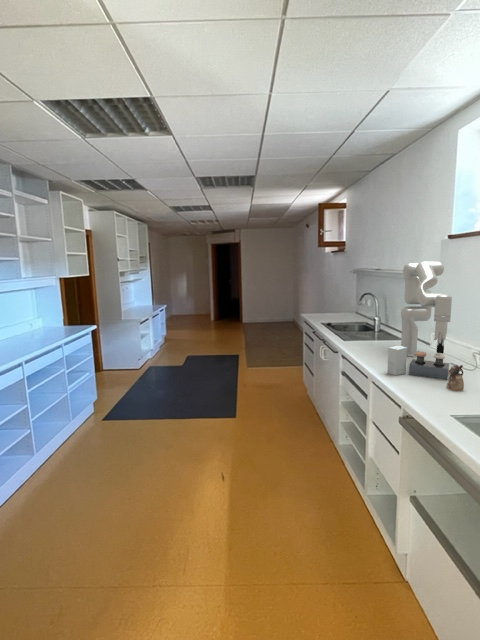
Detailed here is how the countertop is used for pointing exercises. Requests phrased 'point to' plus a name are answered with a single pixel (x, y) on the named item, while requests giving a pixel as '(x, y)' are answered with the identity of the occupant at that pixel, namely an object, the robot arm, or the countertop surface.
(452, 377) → the figurine
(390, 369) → the skincare box
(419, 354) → the knob
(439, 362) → the knob
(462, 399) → the countertop surface
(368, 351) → the countertop surface
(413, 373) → the housing
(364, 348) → the countertop surface
